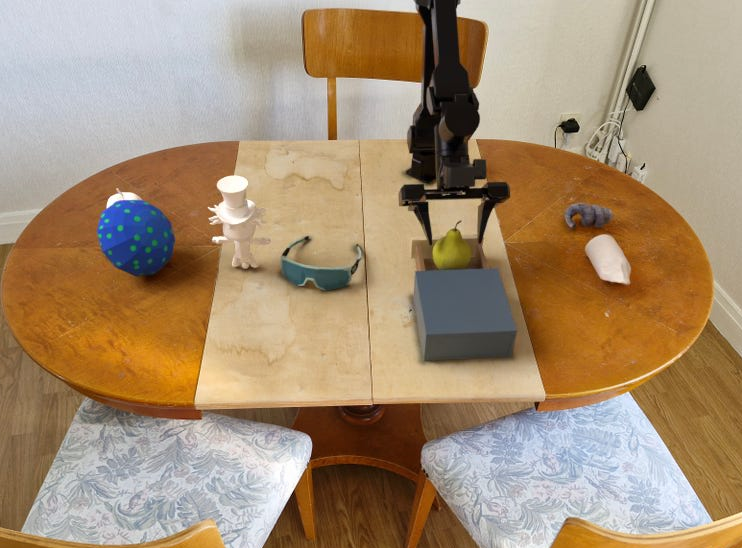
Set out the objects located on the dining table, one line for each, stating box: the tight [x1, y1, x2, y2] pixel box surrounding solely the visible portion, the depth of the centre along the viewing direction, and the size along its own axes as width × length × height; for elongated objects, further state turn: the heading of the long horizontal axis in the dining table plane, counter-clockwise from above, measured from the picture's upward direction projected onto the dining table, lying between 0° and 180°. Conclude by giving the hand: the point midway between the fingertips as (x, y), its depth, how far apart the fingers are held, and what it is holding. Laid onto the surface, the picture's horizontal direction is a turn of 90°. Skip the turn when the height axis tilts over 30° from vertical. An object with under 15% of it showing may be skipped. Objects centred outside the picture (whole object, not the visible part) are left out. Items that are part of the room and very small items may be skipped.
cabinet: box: [412, 267, 518, 362], centre depth 117 cm, size 16×15×6 cm
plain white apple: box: [106, 187, 143, 209], centre depth 133 cm, size 7×7×8 cm
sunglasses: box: [280, 235, 362, 292], centre depth 128 cm, size 14×15×5 cm
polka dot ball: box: [96, 199, 176, 278], centre depth 124 cm, size 14×14×15 cm
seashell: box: [563, 202, 615, 230], centre depth 138 cm, size 5×5×10 cm
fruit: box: [433, 220, 471, 270], centre depth 122 cm, size 7×7×12 cm
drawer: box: [409, 233, 489, 271], centre depth 125 cm, size 16×13×4 cm
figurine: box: [207, 175, 271, 270], centre depth 121 cm, size 10×8×18 cm
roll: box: [584, 234, 632, 286], centre depth 127 cm, size 6×12×6 cm, turn 8°
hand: (455, 244), depth 120 cm, fingers open, 8 cm apart
